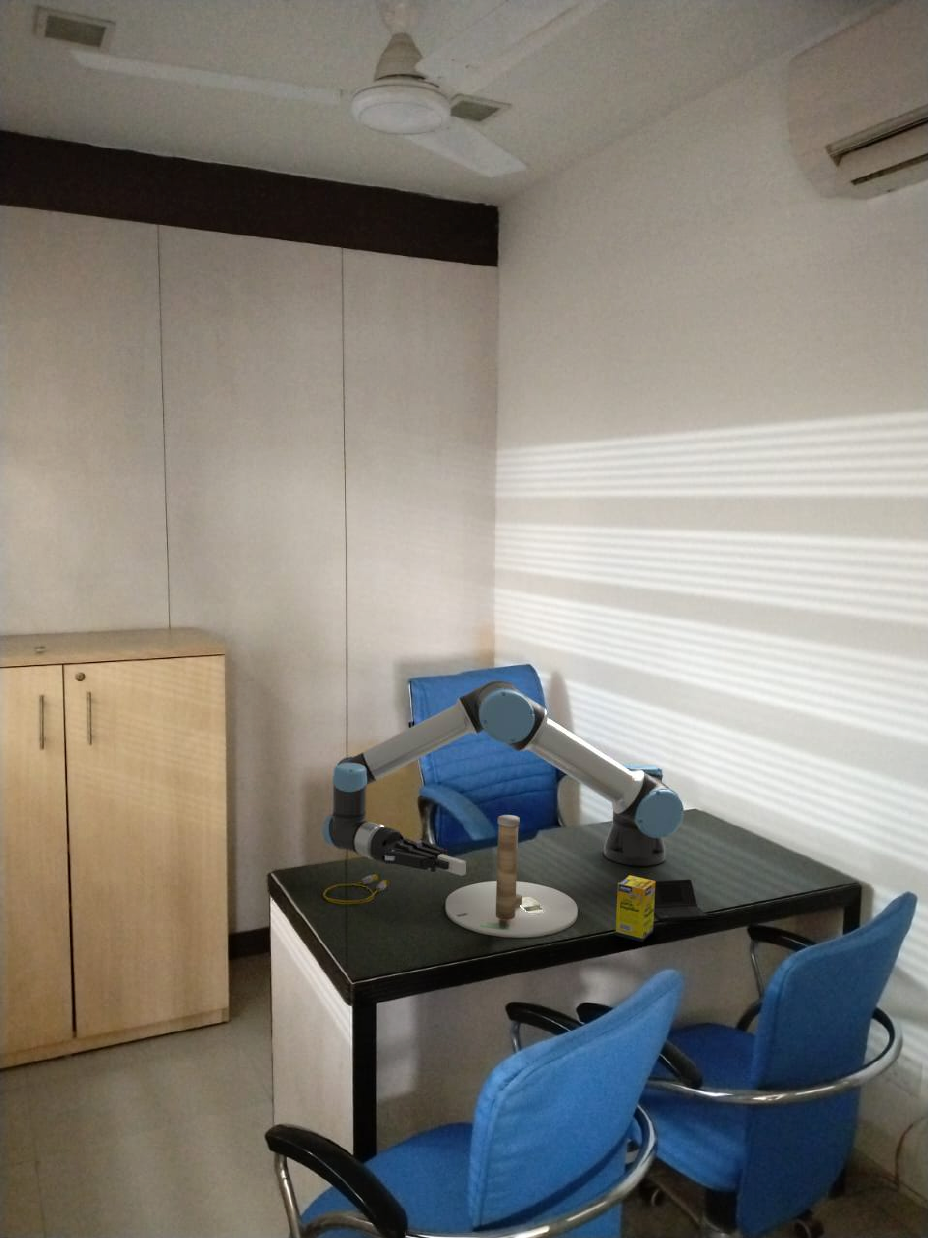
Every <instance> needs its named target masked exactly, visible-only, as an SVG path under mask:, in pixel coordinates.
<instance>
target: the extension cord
mask: <svg viewBox="0 0 928 1238" xmlns="http://www.w3.org/2000/svg"><path fill="white" fill-rule="evenodd" d="M378 877H379V876H378V875H377V874H370V875H366V876H365V877H363V878H361V879H360V881H358V882H355V883H338V884H334V885H331V886H330V887H328V888H326V889H325V890H323V894H322V896H323V898H324V899H325V900H326V902H327V901H328V902H330V903H331V904H337V905H357V904H358V905H359V904H366V903H369V902H371V901H373V899H375V895H376V893H380V892H382V891H384V890H386V888H387V887H388V886H389V885H390V883H389V882H390V881H388V880H385V879H382V880H381V881H380V882H378V884H377V885H376V887H375V891H373V890H372V889H371V888H370V887H368V886H366V885H369V884H373V883H374V882H377V881H378V880H379V878H378ZM352 885H354V887H361V886H362V888H365V887H366V888H365V889H367V890H368V889H369V890H370V891H369V890H368V891H369V892H371V895H370V896H368V897H366V898H364V899H363V898H362V899H356V900H355V899H354V900H346V899H345V900H344V899H343V900H341V899H335V898H330V897H328V896H326V893H328V892H329V891H328V890H330V889H332V888H333V887H334V889H336V888H337V887H336V886H340V887H341V886H352ZM335 887H336V888H335ZM332 890H333V889H332ZM327 891H328V892H327ZM330 891H331V890H330ZM377 891H379V892H377Z"/></svg>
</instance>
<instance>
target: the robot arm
mask: <svg viewBox="0 0 928 1238" xmlns="http://www.w3.org/2000/svg"><path fill="white" fill-rule="evenodd" d="M483 731H484V732H486V734H487V735H488V736H489V737H490V738H492V739H493V740H495V741H497V742H499V743H503V744H506V745H508V746H509V747H511V748H512V749H514V750H515V751H517V752H524V751H529V752H531V753H533V754H534V755H535V756H537V757H539V758H541V759H542V760H544V761H546V762H547V763H548V764H550V765H551V766H553V767H555V768H556V769H558V770H560V771H561V772H563V773H564V774H566V775H567V776H569V777H571V778H572V779H574V780H575V781H577V782H579V783H581V785H583V786H584V787H586V788H588V789H590V790H592V792H594V793H596V795H599V796H601V797H602V798H604V799H605V800H607V801H608V802H610V803H611V806H612V823H611V825H610V829H609V832H608V834H607V837H606V840H605V842H604V846H603V854H604V857H605V858H607V859H609V861H610V860H611V861H612V862H615V863H618V864H622V865H626V866H639V867H640V866H641V867H642V866H643V867H646V866H654V865H658V864H661V863H663V862H664V861H666V855H667V854H666V851H667V850H666V846H665V843H664V839H663V838H665V837H668V836H671V835H672V834H673V833H674V832H676V830H677V829H678V828H679V827H680V825H681V824H682V821H683V819H684V815H685V813H684V812H685V811H684V810H685V809H684V805H683V802H682V800H681V798H680V796H679V795H678V793H676V792H675V791H674V790H672V788H670V787H669V786H667V785H666V784H665V782H663V778H664V774H663V769H662V767H660V766H658V765H653V764H647V763H646V764H644V763H643V764H642V763H627V764H626V763H625V764H624V763H623V764H620V763H619V762H618V761H616V760H614V759H612V757H610V756H608V755H607V754H605V753H603V752H601V751H600V750H598V749H597V748H595V747H594V746H592V745H590V743H588V742H587V741H584V740H583V739H581V738H580V737H579V736H576V735H575V734H573V733H572V732H571V731H569V730H568V729H566V728H564V727H563V726H561V725H560V724H558V723H556V722H555V721H553V720H552V719H550V718H549V717H548V712H547V709H546V708H545V707H543V706H542V705H541V704H539V703H537V702H536V701H535V700H534V699H531V698H530V697H528V696H527V695H525V694H524V693H523V692H521V691H520V690H519V688H517V687H516V686H515V685H514V684H513V683H511V682H508V681H505V680H492V681H489V682H486V683H484V684H482V685H480V686H479V687H477V688H475V689H473V690H471V691H470V692H468V693H466V694H465V695H462V696H460V697H458V698H457V700H456V703H455V704H454V705H452V706H450V707H447V708H446V709H444V710H442V711H440V712H439V713H437V714H435V715H433V716H431V717H428V718H426V719H425V720H423V721H420V722H419V723H418V724H414V725H412V726H411V727H409V728H407V729H405V730H403V731H401V732H400V733H397V734H396V735H394V736H392V737H390V738H388V739H386V740H384V741H382V742H379V743H377V744H376V745H374V746H371V747H370V748H368V749H366V750H364V751H363V752H361V753H358V754H356V755H354V756H353V755H352V756H346V757H343V758H342V759H341V760H339V761H338V763H337V764H336V766H335V767H334V769H333V776H332V805H333V806H332V813H330V814H328V816H327V817H326V818H325V819H324V821H323V822H324V823H323V825H322V826H321V827H322V828H321V834H322V838H323V840H324V841H325V842H326V844H328V845H330V846H332V847H334V848H337V849H338V850H343V851H347V852H350V853H354V854H358V855H360V856H363V857H365V858H367V859H369V860H375V861H378V862H380V863H381V862H382V863H385V864H387V865H388V864H389V865H390V864H391V865H398V866H404V867H407V868H408V867H409V868H414V869H420V870H424V871H427V870H429V868H430V872H431V873H433V872H436V871H437V869H439V870H442V871H445V872H448V873H452V874H454V875H458V876H464V875H466V874H467V873H466V872H467V871H466V870H467V861H466V860H463V859H461V858H457V857H454V856H450V855H448V851H447V849H446V848H445V849H444V848H443V847H440V846H439V845H436V844H434V843H432V842H429V841H428V840H427V839H426V838H425V837H424V838H423V837H422V838H420V839H419V841H417V842H415V841H414V840H412V839H409V838H404V836H403V834H402V833H401V832H400V830H398V829H395V828H392V827H388V826H385V825H383V824H379V823H376V822H372V821H368V820H366V818H367V816H366V815H367V810H366V809H367V786H368V785H370V784H371V785H372V783H374V782H376V781H378V780H380V779H382V778H384V777H385V776H388V775H390V774H392V773H393V772H396V771H398V770H399V769H402V768H403V767H405V766H407V765H409V764H412V763H413V762H415V761H418V760H419V759H421V758H423V757H425V756H427V755H429V754H431V753H433V752H434V751H436V750H439V749H440V748H441V749H442V748H443V747H444V746H446V745H449V744H451V743H453V742H454V741H456V740H458V739H460V738H462V737H464V736H466V735H469V734H473V735H477V734H480V733H482V732H483Z"/></svg>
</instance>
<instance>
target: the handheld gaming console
mask: <svg viewBox="0 0 928 1238" xmlns="http://www.w3.org/2000/svg"><path fill="white" fill-rule="evenodd" d="M654 881H655V882H656V883H655V900H654V918H656V919H657V920H658V922H661V923H663V922H677V921H678V922H679V921H695V920H702V919H703V920H708V914H707V913H705V912H704V911H703V910H702V909H701V908H700V907H699V905H698V904H697V900H696V896H695V895H696V894H695V891H694V886H693V881H692V879H675V880H671V879H670V880H658V881H656V880H654Z"/></svg>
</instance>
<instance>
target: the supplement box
mask: <svg viewBox="0 0 928 1238" xmlns="http://www.w3.org/2000/svg"><path fill="white" fill-rule="evenodd" d="M655 881H656V880H651V879H646V878H643V877H638V876H635V875H628V876H627V877H626V878H625V879H623V880H621V881H619V882H618V883H617V897H616V901H617V902H616V916H615V917H616V919H615V934H614V935H615V936H617V937H621V938H626V939H629V940H633V941H635V942H636V941H637V942H640V943H642V942H644V941H645V940H646V939H647V938H648V937H649V936H650V935H651V934H653V933H654V932H653V931H654V919H655V916H654V900H655V883H656V882H655Z"/></svg>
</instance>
